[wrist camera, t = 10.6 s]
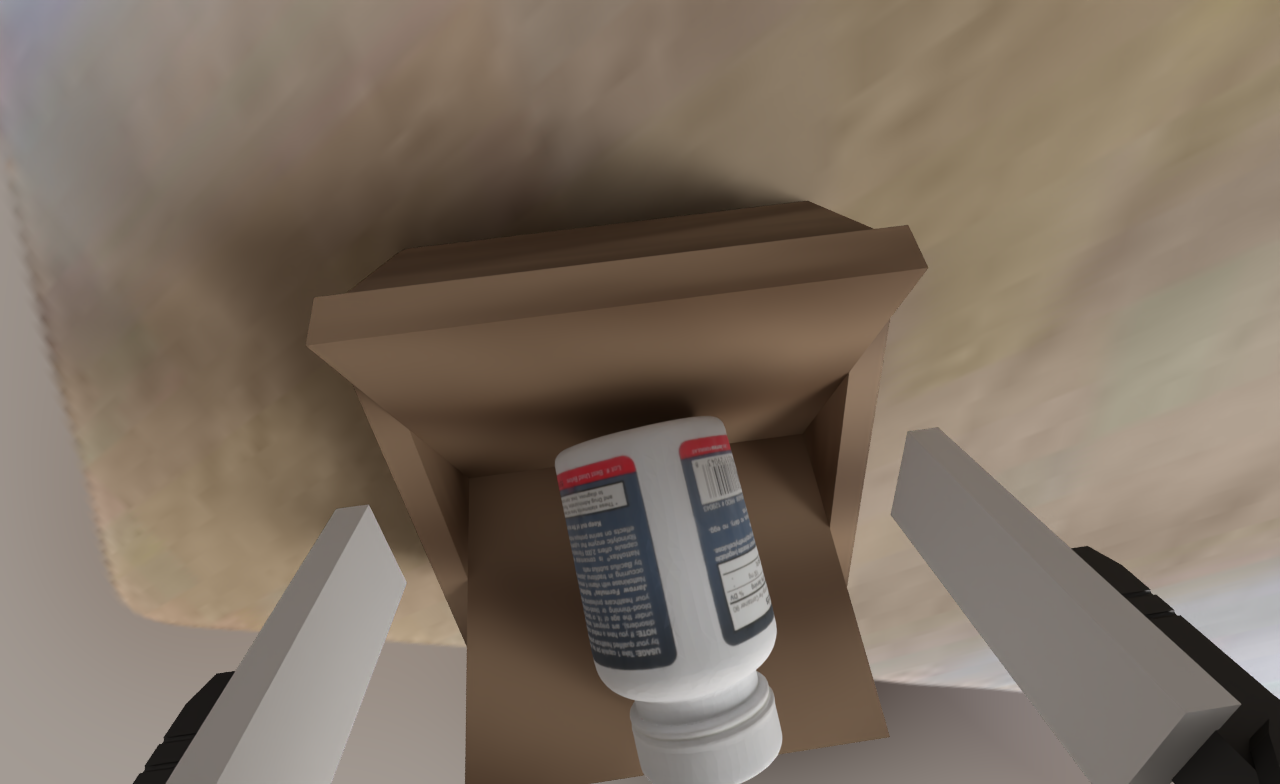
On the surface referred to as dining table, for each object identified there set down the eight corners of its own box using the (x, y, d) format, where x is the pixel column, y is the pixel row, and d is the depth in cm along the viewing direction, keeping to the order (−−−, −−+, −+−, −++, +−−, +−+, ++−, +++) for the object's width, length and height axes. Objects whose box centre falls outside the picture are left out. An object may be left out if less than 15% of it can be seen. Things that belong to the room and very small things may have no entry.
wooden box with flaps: (389, 227, 17) (143, 378, 8) (814, 177, 18) (1084, 260, 8) (502, 565, 26) (452, 840, 16) (790, 524, 26) (908, 768, 17)
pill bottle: (556, 459, 18) (609, 735, 16) (545, 443, 13) (621, 844, 11) (701, 429, 18) (765, 688, 17) (745, 401, 13) (844, 769, 12)
